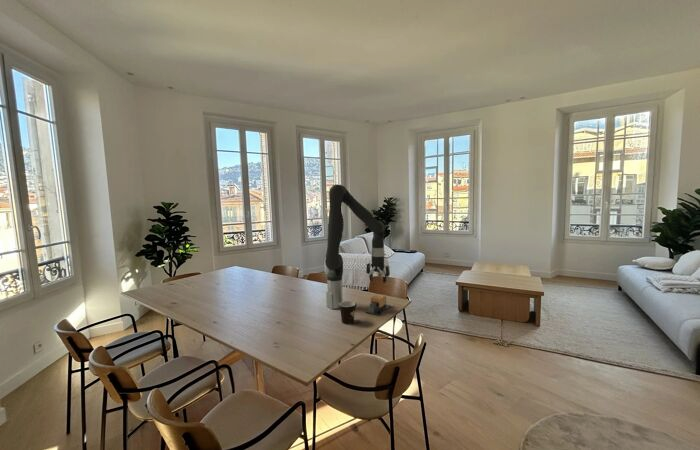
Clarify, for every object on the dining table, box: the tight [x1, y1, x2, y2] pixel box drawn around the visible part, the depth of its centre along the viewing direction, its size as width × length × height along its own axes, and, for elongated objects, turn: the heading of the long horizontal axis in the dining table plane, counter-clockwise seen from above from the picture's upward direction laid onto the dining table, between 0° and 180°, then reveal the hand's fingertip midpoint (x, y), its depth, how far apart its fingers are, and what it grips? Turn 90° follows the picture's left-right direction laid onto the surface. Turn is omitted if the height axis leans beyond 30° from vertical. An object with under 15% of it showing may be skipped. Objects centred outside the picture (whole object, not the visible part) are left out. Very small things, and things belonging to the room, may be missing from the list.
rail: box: [364, 295, 392, 316], centre depth 182 cm, size 16×9×6 cm, turn 148°
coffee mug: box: [339, 300, 357, 325], centre depth 166 cm, size 12×9×10 cm
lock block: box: [370, 293, 386, 307], centre depth 182 cm, size 7×6×5 cm
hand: (377, 281), depth 181 cm, fingers open, 8 cm apart
